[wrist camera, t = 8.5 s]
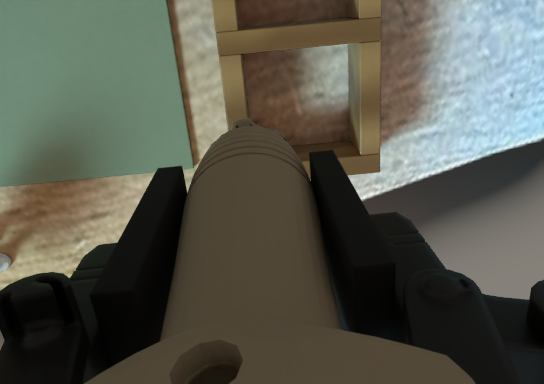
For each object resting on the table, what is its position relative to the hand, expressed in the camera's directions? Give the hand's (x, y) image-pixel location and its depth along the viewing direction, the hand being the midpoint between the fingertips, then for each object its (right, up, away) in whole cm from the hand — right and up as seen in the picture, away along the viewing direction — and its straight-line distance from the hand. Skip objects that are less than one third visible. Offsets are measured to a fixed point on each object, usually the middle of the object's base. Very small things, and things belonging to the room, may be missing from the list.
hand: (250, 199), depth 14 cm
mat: (-15, +11, +19) cm, 26 cm away
